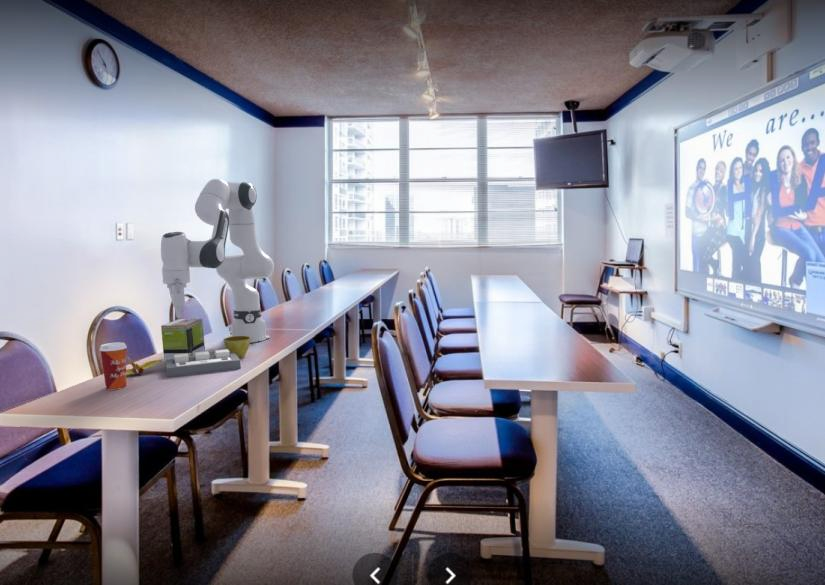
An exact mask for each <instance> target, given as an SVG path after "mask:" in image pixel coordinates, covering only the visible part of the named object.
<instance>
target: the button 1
mask: <svg viewBox="0 0 825 585" xmlns="http://www.w3.org/2000/svg"><path fill="white" fill-rule="evenodd" d="M174 362H175V363H181V362H189V356H188V353H186V354H177V355H174Z"/></svg>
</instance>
